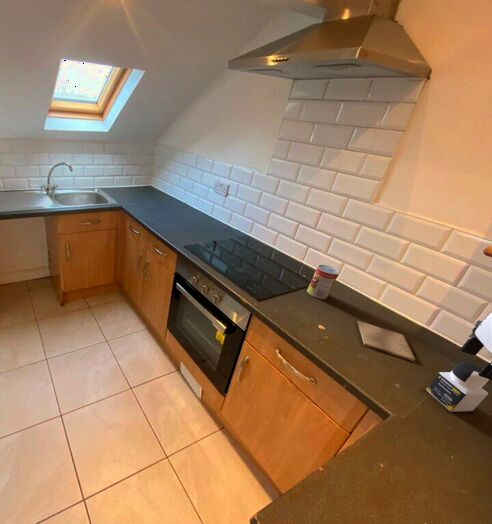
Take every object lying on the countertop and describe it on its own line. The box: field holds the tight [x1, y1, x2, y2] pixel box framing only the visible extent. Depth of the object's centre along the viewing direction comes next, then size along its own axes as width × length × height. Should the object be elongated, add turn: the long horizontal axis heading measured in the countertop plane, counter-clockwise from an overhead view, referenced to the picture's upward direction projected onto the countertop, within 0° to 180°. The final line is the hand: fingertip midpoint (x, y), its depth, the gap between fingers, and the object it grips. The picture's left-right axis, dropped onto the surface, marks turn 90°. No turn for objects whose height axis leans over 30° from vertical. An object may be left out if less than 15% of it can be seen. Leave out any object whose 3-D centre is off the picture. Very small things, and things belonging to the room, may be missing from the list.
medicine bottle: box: [425, 361, 490, 413], centre depth 80 cm, size 7×7×12 cm
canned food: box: [306, 264, 340, 300], centre depth 125 cm, size 8×8×12 cm
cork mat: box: [357, 320, 416, 362], centre depth 103 cm, size 14×14×1 cm
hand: (476, 364), depth 76 cm, fingers open, 9 cm apart
